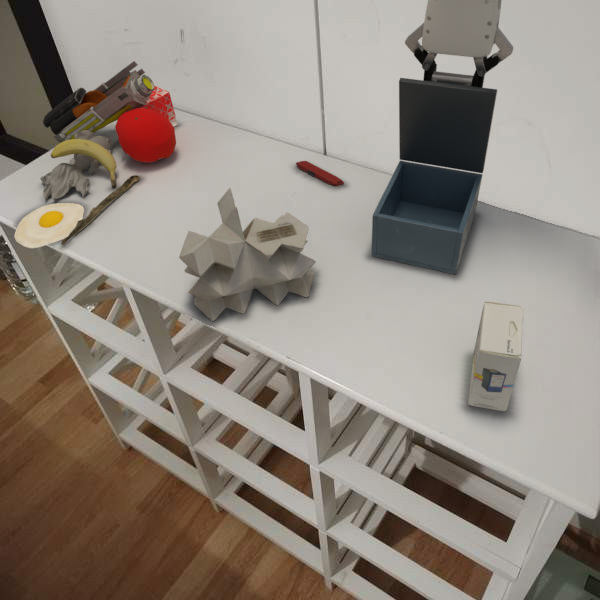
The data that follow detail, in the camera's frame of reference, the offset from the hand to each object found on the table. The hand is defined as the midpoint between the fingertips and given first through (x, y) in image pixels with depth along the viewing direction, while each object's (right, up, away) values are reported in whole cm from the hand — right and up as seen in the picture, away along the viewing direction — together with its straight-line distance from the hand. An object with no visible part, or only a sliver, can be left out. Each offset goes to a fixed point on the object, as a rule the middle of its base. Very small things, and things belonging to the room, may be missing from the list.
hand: (451, 93), depth 89 cm
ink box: (+2, -44, -11) cm, 45 cm away
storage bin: (-2, -21, +10) cm, 23 cm away
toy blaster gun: (-66, +5, +29) cm, 73 cm away
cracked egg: (-71, -18, +20) cm, 76 cm away
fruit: (-66, -5, +27) cm, 72 cm away
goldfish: (-66, -8, +30) cm, 73 cm away
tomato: (-56, +5, +25) cm, 62 cm away
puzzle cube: (-60, +12, +40) cm, 73 cm away
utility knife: (-19, -7, +24) cm, 31 cm away
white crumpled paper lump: (-30, -31, -3) cm, 43 cm away
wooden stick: (-62, -15, +22) cm, 67 cm away
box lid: (-1, -6, +1) cm, 6 cm away
